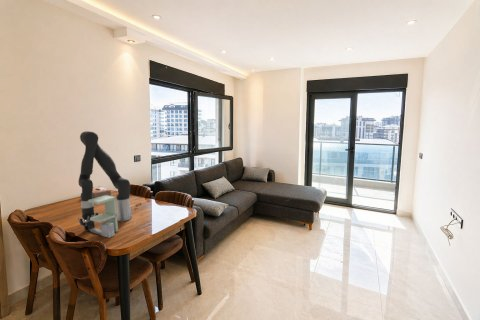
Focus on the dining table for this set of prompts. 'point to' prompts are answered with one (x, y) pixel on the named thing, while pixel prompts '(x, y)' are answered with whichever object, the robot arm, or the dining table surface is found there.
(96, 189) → the tissue box cover
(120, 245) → the dining table surface
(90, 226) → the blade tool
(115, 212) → the shelf unit
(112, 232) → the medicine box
